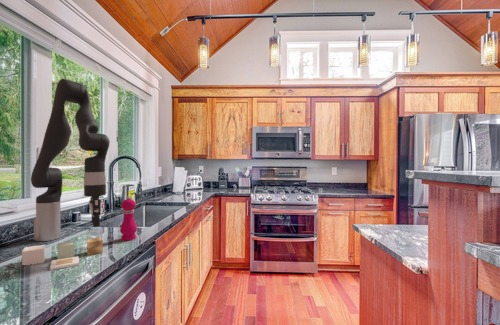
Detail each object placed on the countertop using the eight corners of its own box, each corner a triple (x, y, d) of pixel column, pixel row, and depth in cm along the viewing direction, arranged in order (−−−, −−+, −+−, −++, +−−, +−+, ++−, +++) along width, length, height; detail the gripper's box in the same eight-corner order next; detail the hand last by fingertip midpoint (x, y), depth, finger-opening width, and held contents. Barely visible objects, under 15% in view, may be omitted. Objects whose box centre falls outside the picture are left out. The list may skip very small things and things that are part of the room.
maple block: (87, 255, 105) (87, 242, 105) (87, 251, 109) (87, 239, 109) (102, 253, 107) (102, 240, 107) (101, 249, 111) (101, 237, 112)
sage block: (57, 260, 100) (57, 246, 100) (58, 256, 104) (58, 243, 104) (73, 257, 102) (73, 244, 102) (73, 253, 106) (73, 241, 106)
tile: (50, 270, 90) (50, 267, 90) (51, 262, 97) (51, 260, 97) (78, 265, 94) (78, 262, 94) (78, 258, 101) (78, 255, 101)
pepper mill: (140, 237, 129) (140, 195, 129) (129, 241, 122) (128, 197, 123) (128, 236, 132) (128, 194, 132) (116, 240, 125) (116, 196, 125)
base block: (21, 266, 94) (21, 251, 94) (24, 261, 99) (24, 247, 99) (43, 262, 97) (43, 248, 97) (45, 258, 102) (45, 244, 102)
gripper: (107, 184, 104) (108, 226, 104) (104, 182, 116) (104, 220, 116) (84, 185, 100) (85, 229, 100) (83, 183, 112) (83, 222, 112)
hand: (95, 224), depth 108 cm, fingers open, 8 cm apart
